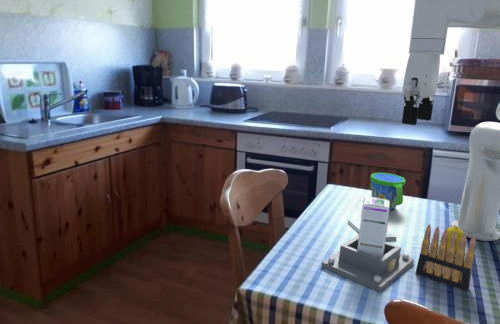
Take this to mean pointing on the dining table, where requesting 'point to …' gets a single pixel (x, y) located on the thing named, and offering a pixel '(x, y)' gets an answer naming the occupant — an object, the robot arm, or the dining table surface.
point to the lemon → (450, 233)
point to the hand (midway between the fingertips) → (416, 121)
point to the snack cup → (388, 188)
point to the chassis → (368, 264)
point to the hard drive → (356, 226)
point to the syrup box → (373, 226)
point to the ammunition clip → (446, 259)
